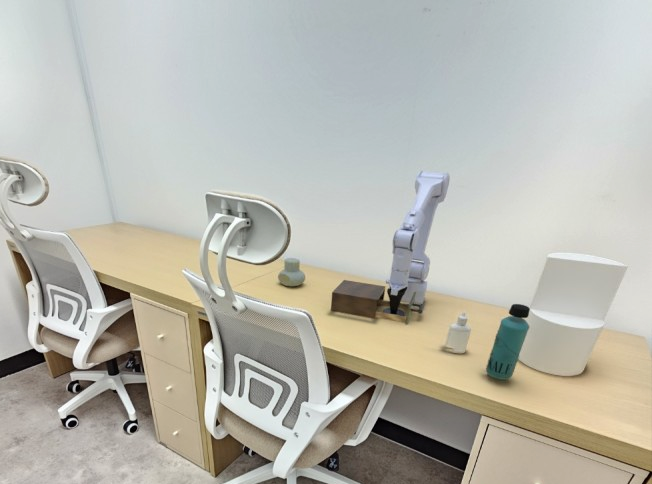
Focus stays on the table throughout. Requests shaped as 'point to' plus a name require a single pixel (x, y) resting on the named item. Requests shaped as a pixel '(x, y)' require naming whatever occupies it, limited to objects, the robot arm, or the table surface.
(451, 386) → the table surface
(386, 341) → the table surface
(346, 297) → the cabinet
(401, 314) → the lid
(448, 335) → the eye dropper bottle
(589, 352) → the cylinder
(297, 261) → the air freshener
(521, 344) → the beverage bottle
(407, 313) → the drawer
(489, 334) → the table surface
